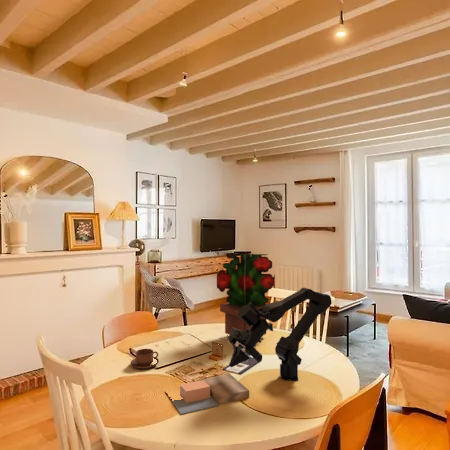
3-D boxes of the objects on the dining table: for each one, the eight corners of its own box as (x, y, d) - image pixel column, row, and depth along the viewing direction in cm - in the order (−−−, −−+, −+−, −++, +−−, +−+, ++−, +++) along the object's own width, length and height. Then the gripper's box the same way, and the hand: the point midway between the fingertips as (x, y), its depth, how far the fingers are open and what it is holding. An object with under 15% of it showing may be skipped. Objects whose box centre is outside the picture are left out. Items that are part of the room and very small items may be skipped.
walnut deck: (229, 380, 149) (229, 373, 149) (249, 397, 134) (249, 390, 134) (201, 385, 143) (201, 379, 143) (218, 404, 129) (218, 397, 129)
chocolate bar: (261, 359, 169) (241, 373, 154) (261, 361, 169) (241, 375, 154) (244, 355, 174) (222, 368, 159) (244, 357, 174) (222, 370, 159)
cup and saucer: (146, 358, 172) (146, 345, 172) (164, 364, 165) (164, 350, 165) (124, 366, 163) (124, 352, 163) (142, 373, 155) (142, 358, 155)
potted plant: (246, 328, 218) (246, 251, 218) (274, 338, 201) (274, 254, 200) (216, 336, 204) (216, 253, 203) (244, 347, 187) (244, 256, 186)
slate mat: (199, 384, 144) (199, 383, 144) (218, 406, 128) (218, 404, 128) (165, 391, 138) (165, 390, 138) (180, 414, 122) (180, 413, 122)
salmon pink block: (203, 379, 138) (180, 384, 135) (210, 386, 133) (185, 391, 129) (203, 390, 138) (180, 395, 135) (210, 397, 133) (185, 403, 129)
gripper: (231, 314, 150) (206, 345, 146) (254, 326, 133) (227, 362, 129) (248, 331, 154) (224, 362, 149) (273, 344, 137) (247, 380, 132)
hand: (230, 366), depth 140 cm, fingers closed
